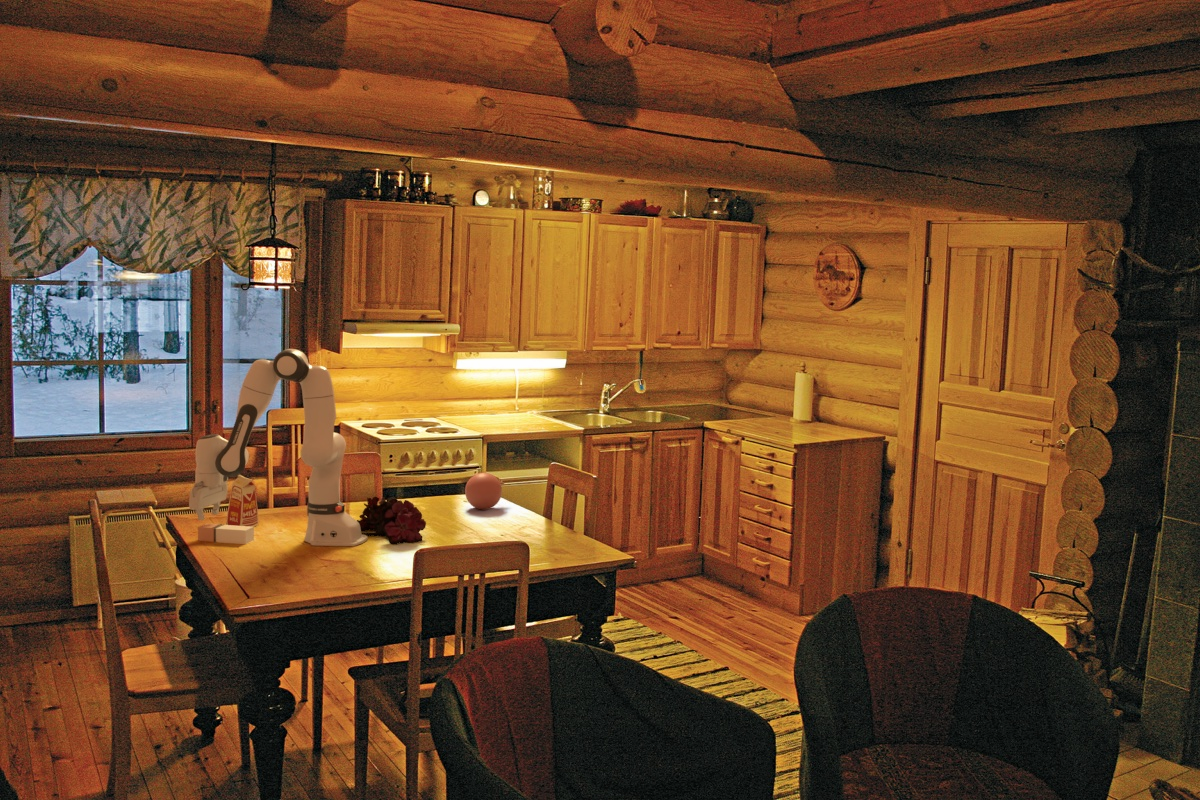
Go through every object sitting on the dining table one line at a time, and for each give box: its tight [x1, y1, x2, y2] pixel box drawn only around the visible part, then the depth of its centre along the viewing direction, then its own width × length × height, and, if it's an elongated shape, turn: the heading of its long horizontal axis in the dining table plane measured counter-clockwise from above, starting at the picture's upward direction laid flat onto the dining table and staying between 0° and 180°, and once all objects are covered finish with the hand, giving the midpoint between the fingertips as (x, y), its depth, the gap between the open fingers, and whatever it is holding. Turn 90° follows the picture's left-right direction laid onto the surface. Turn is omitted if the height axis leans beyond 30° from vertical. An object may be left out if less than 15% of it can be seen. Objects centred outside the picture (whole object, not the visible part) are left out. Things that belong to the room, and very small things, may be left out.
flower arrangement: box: [356, 496, 427, 546], centre depth 399 cm, size 31×20×15 cm, turn 48°
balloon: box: [464, 472, 505, 511], centre depth 450 cm, size 15×20×15 cm
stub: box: [197, 523, 223, 543], centre depth 385 cm, size 6×6×5 cm
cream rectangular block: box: [213, 523, 255, 545], centre depth 383 cm, size 12×6×5 cm, turn 81°
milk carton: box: [225, 474, 260, 528], centre depth 407 cm, size 9×9×20 cm
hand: (208, 517), depth 384 cm, fingers open, 8 cm apart
